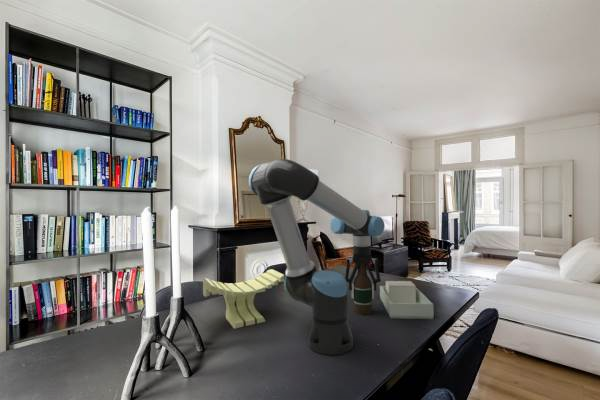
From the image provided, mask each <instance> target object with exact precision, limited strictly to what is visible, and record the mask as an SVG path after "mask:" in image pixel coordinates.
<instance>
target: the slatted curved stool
mask: <svg viewBox="0 0 600 400" xmlns="http://www.w3.org/2000/svg"><path fill="white" fill-rule="evenodd" d="M284 280H285V273H281V272H279V271H277V270H275V269H273V268H272V269H268V270H266V272H263V273H261V274H260V275H257V276H256V277H254V278H251V279H249V280H245V281H240V282H235V283H228V282H224V283H223V282H221V281H215V280H213V279H209V278H207V277H204V278H203V279H202V295H203V297H205V298H206V297H209V296H211V295H212V296H213V295H219V296H220V295H221V296H223V298H224V300H225V306H226V310H225V319H226V320H227V322H228V323H229V324H230V326H231V327H232V328H233V329H235V330H236V329H238V328H242V327H243V328H244V327H247V326H253V325H255V324H261V323H265V322H266V320H265V318H264V316H263V315H261V313H260V312H259V311H258V310H257V309H256V306H255V304H254V299H255V297H256V296H255V295H256V294H258V293H263V292H266V291H267V290H266V289H272V288H273V287H274V286H278V285H279V283H282V282H283V283H284Z"/></svg>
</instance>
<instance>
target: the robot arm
mask: <svg viewBox="0 0 600 400" xmlns="http://www.w3.org/2000/svg"><path fill="white" fill-rule="evenodd" d="M248 186H249V189H250V190H251V192H252V193H253V194H254V195H256V196H257V197H258V199H259V201H260V204H261V205H260V206H263V207H264V208H266V209H267V213H268V215H269V218H270V222H271V224H272V227H273V229H274V232H275V236H276V239H277V242H278V244H279V245H278V246H279V248H280V250H281V252H282V257H283V259H284V261H285V265H286V269H285V270H284V282H283V285H284V286H283V287H284V289H285V293H287V295H289V296H290V297H291V298H292V299H293V300H295V301H297V302H300V303H303V304H304V305H307V306H309V307H310V308H311V307H312V323H311V325H310V329H309V333H308V335H307V344H308V347H309V348H310V349H311V350H312V351H314V352H316V353H318V354H322V355H327V356H330V355H331V356H337V355H342V354H346V353H348V352H350V351H351V350H352V349H353V348H354V337H353V334H352V331H351V327H350V325H349V322H348V290H349V291H351V299H353V300H354V280H355V277H356V275H357V272H358V267H359V265H360V262H361V260H360V259H359V258H360V257H365V260H364V262H365V266H366V269H367V272H368V273H369V276H370V278H371V285H372V300H374V299H375V291H377V283H380V282H381V275H380V269H379V259H378V258H377V257H375V258H373V257H372V253H371V252H372V247H371V244H372V243H371V242H372V241H371V238H372V237H380V236H381V235H382V234H383V233H384V230H385V221H384V219H383V218H382V217H381V216H376V215H370V214H371V213H370V211H369V210H368V209H361V208H360V207H358V206H357V205H355V204H354V203H353V202H352V201H350V200H348V199H347V198H345V197H344V196H342V195H341V194H340V193H338V192H336V191H335V190H333V189H332V188H331V187H329V186H328V185H326V184H325V183H323V181H321V180H320V177H319V175H317V174H316V173H315V172H313V171H311V170H310V169H309V168H308V167H305V166H303V165H302V164H300V163H298V162H296V161H293V160H291V159H287V158H279V159H275V160H272V161H267V162H262V163H261V164H258V165H256V166H255V167H253V168H252V170H251V171H250V174H249V176H248ZM292 197H294V198H297V199H299V200H301V201H308V202H310V203H311V204H313V205H315V206H316V207H318V208H320V209H322V210H323V211H325V212H326V213H328V214H329V215H331V216H333V217H332V218H331V219H330V223H329V224H330V225H329V226H330V230H331V231H332V233H334V235H335V234H336V235H343V234H345V235H346V234H348V235H352V244H353V247H352V250H353V252H352V257H350V258H349V257H347V258H346V259H345V261H346V267H345V273H344V274H345V275H343V274H341V273H339V272H336V271H329V270H317V267H316V265H315V262H314V261H312V259H311V260H310V258H309V256H308V253H307V249H306V246H305V244H304V239H303V237H302V234H301V230H300V228H299V225H298V221H297V218H296V215H295V212H294V209H293V206H292V203H291V198H292ZM352 262H353V263H354V267H353V269H352V272H351V273H350V268H351V264H352ZM370 263H372V264H373V265H374V270H375V275H374V273H373V270H372V269H371V267H370ZM349 273H350V275H349ZM349 276H350V277H349ZM375 277H376V278H375ZM347 284H348V287H347Z"/></svg>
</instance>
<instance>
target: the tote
mask: <svg viewBox="0 0 600 400" xmlns="http://www.w3.org/2000/svg"><path fill="white" fill-rule="evenodd" d="M379 298H380V300H381V303H382V304H383V307H384V308H385V310H386V313H387V314H388V317H389V318H390V319H404V320H405V319H406V320H407V319H410V320H416V319H417V320H434V319H435V317H434V314H435V313H434V303H433V302H431V300H429V298H427V296H426V295H425V294H424V293H423V292H421V290H420V289H418V288H417V287H416V303H392V302H391V301H390V299H389V297H388V296H387V294H386V285H379Z"/></svg>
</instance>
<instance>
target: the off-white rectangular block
mask: <svg viewBox="0 0 600 400" xmlns="http://www.w3.org/2000/svg"><path fill="white" fill-rule="evenodd" d="M385 286H386V294H387V296H388V297H389V299H390V301H391V302H392V303H416V288H417V287H416V284H414V282H412V280H397V281H396V280H385Z"/></svg>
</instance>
